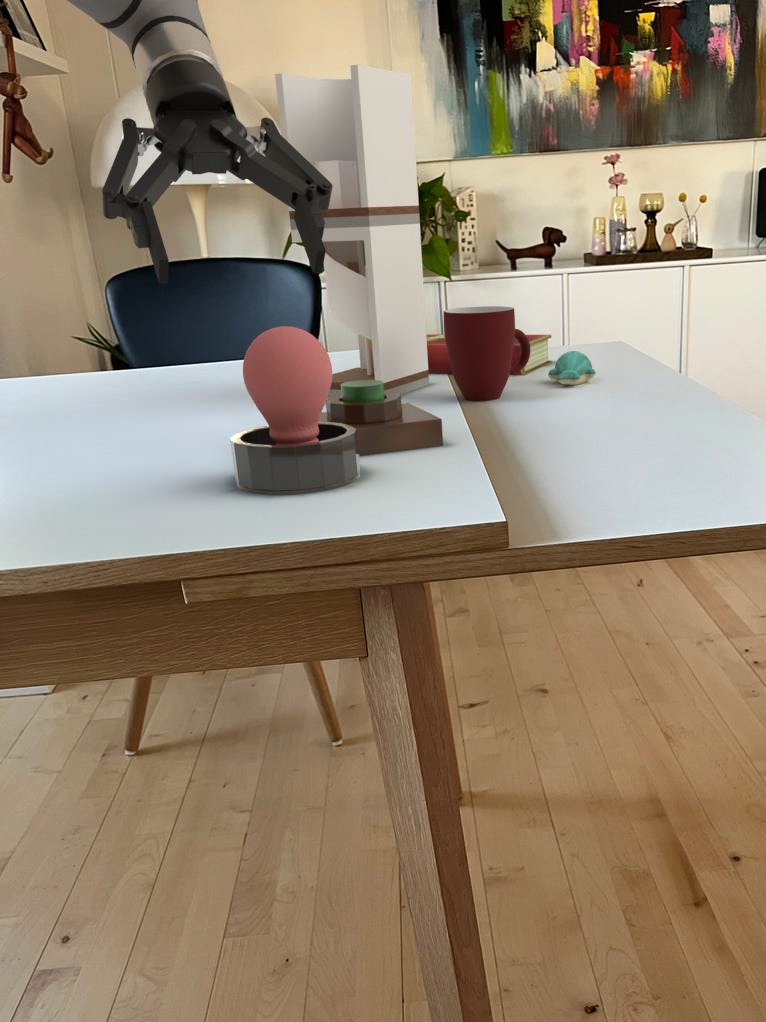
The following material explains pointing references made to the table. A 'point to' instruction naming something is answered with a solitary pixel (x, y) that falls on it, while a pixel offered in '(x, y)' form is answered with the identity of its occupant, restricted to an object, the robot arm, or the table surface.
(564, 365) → the toy turtle
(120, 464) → the table surface
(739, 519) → the table surface
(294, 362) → the light bulb
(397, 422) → the lamp base
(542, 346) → the hardcover book
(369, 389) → the button
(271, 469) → the lamp socket
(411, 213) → the white shelf unit
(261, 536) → the table surface
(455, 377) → the mug
